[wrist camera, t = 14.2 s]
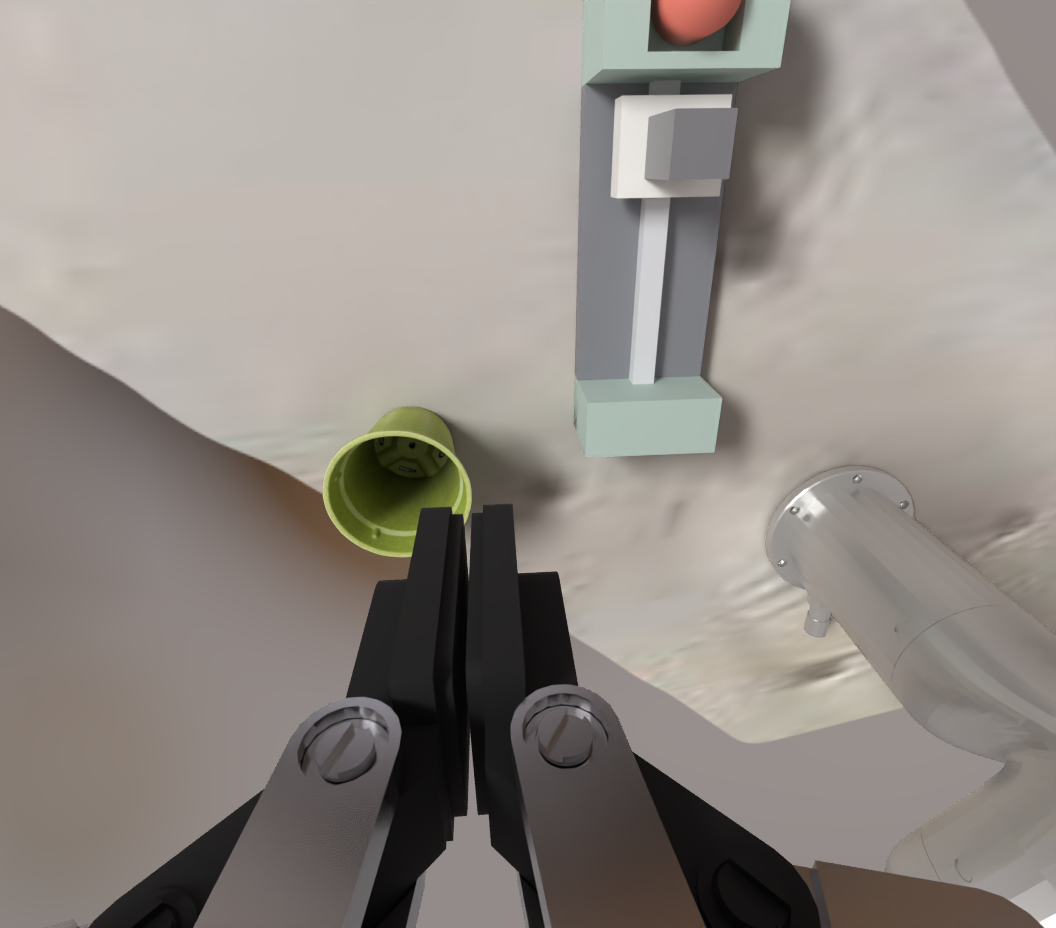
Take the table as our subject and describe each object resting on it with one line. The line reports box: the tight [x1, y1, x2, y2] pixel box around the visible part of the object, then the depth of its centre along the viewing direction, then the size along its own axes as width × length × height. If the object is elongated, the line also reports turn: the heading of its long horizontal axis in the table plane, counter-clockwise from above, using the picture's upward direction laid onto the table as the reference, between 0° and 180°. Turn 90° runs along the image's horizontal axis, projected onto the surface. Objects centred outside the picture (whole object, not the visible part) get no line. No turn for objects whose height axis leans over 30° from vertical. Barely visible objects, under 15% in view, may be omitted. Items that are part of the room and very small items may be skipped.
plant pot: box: [323, 407, 472, 557], centre depth 41 cm, size 9×9×9 cm
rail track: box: [574, 0, 791, 458], centre depth 35 cm, size 28×9×7 cm, turn 1°
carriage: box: [611, 94, 738, 198], centre depth 31 cm, size 5×6×7 cm
